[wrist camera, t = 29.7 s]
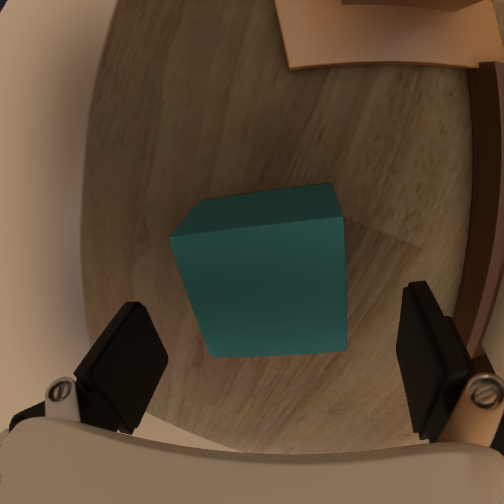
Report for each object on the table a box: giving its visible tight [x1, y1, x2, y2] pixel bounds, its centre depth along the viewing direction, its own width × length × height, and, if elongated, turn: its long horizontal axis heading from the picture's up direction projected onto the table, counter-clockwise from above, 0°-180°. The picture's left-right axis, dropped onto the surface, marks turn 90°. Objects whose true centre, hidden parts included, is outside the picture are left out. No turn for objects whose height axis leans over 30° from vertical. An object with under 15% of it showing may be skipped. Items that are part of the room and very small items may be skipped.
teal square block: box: [169, 183, 347, 357], centre depth 13 cm, size 6×6×4 cm
